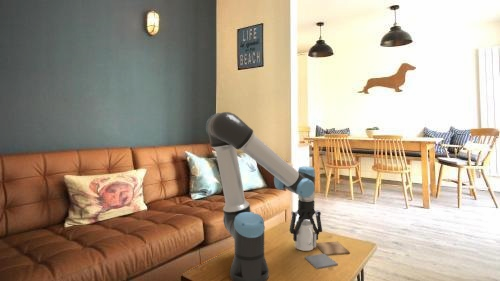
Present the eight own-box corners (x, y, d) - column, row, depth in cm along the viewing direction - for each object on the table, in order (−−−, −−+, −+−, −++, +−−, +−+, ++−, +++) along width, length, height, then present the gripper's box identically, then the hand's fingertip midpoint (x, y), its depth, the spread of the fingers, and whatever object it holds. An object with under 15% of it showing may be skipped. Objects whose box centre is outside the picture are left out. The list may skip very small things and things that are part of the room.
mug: (319, 253, 130) (319, 227, 130) (301, 254, 129) (302, 228, 128) (309, 242, 142) (309, 219, 141) (292, 244, 140) (293, 220, 140)
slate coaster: (316, 269, 117) (316, 267, 117) (304, 258, 126) (304, 256, 126) (337, 265, 120) (337, 263, 120) (324, 254, 129) (324, 253, 129)
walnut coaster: (324, 255, 128) (324, 253, 128) (314, 244, 140) (314, 243, 140) (349, 253, 130) (349, 252, 130) (337, 243, 142) (337, 241, 142)
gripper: (287, 202, 129) (286, 251, 130) (330, 201, 132) (329, 249, 133) (282, 198, 136) (282, 244, 137) (324, 196, 139) (323, 242, 141)
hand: (305, 246), depth 135 cm, fingers closed on mug, 8 cm apart
